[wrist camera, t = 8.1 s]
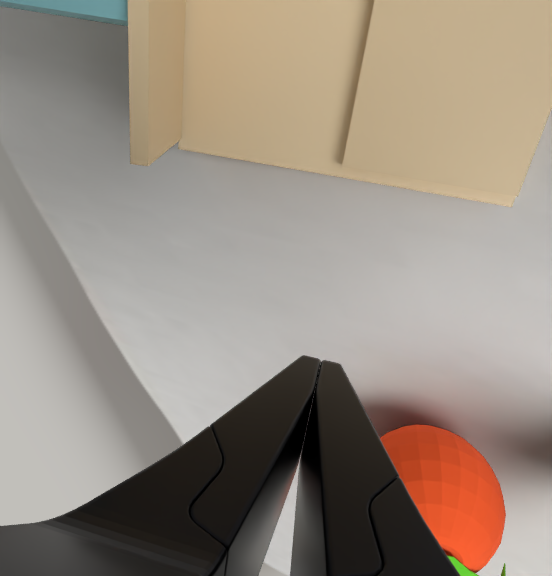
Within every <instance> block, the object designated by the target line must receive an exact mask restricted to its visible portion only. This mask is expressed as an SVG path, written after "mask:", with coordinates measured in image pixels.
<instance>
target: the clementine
mask: <svg viewBox="0 0 552 576" xmlns="http://www.w3.org/2000/svg"><path fill="white" fill-rule="evenodd" d="M380 439H381V441H382V443H383V445H384V447H385V449H386V451H387V453H388V455H389V457H390V458H391V460H392V462H393V464H394V466H395V468H396V470H397V472H398V474H399V476H400V477H399V478H401V479H402V481H403V483H404V485H405V487H406V488H407V490H408V492H409V494H410V496H411V498H412V499H413V501H414V503H415V505H416V506H417V508H418V510H419V512H420V514H421V515H422V517H423V519H424V521H425V522H426V524H427V525H428V527H429V528H430V530H431V532H432V533H433V535H434V536H435V538H436V539H437V541H438V542H439V544H440V546H441V547H442V549H443V550H444V552H445V553H446V555H447V556H448V558H449V559H450V561H451V562H452V564H453V565H454V567H455V568H456V570H457V571H458V573H459V574H460V576H479V575H477V574H475V573H477V572H478V571H479V570H481V569H482V568H483V567H484V566H485V565H486V564H487V563H488V562H489V560H490V559H491V558H492V556H493V555H494V554H495V552H496V550H497V548H498V547H499V545H500V543H501V539H502V534H503V530H504V523H505V516H506V513H505V506H504V500H503V495H502V491H501V488H500V484H499V482H498V480H497V478H496V476H495V474H494V472H493V470H492V468H491V467H490V465H489V464H488V462H487V461H486V460H485V458H484V457H483V456H482V455H481V454H480V453H479V452H478V451H477V450H476V449H475V448H474V447H473V446H472V445H471V444H469V443H468V442H467V441H466V440H465V439H463V438H462V437H460V436H458V435H456V434H454V433H452V432H450V431H448V430H445V429H442V428H438V427H434V426H430V425H417V424H416V425H409V426H403V427H401V428H398V429H395V430H393V431H390V432H388V433H386V434H385V435H383V436H382V437H381V438H380ZM501 576H505V563H504V567H503V570H502V574H501Z"/></svg>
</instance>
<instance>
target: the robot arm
mask: <svg viewBox="0 0 552 576" xmlns="http://www.w3.org/2000/svg"><path fill="white" fill-rule="evenodd" d="M320 364H321V365H320ZM319 368H320V369H319ZM318 373H319V374H318ZM317 378H318V379H317ZM316 382H317V383H316ZM315 387H316V388H315ZM314 391H315V393H314ZM313 396H314V397H313ZM312 401H313V402H312ZM311 405H312V406H311ZM310 410H311V411H310ZM309 415H310V416H309ZM308 419H309V420H308ZM307 424H308V425H307ZM306 428H307V430H306ZM305 433H306V434H305ZM304 438H305V439H304ZM303 442H304V443H303ZM302 447H303V448H302ZM301 451H302V453H301ZM300 455H301V459H300ZM299 459H300V466H299V475H298V487H297V499H296V511H295V523H294V535H293V547H292V560H291V572H290V576H460V574H459V573H458V571H457V570H456V568H455V567H454V565H453V564H452V562H451V561H450V559H449V558H448V556H447V555H446V553H445V552H444V550H443V549H442V547H441V546H440V544H439V542H438V541H437V539H436V538H435V536H434V535H433V533H432V532H431V530H430V528H429V527H428V525H427V524H426V522H425V521H424V519H423V517H422V515H421V514H420V512H419V510H418V508H417V506H416V505H415V503H414V501H413V499H412V498H411V496H410V494H409V492H408V490H407V488H406V487H405V485H404V483H403V481H402V479H401V478H399V477H400V476H399V474H398V472H397V470H396V468H395V466H394V464H393V462H392V460H391V458H390V457H389V455H388V453H387V451H386V449H385V447H384V445H383V443H382V441H381V439H380V438H379V436H378V434H377V432H376V430H375V428H374V426H373V424H372V422H371V421H370V419H369V417H368V415H367V413H366V411H365V409H364V407H363V405H362V404H361V402H360V400H359V398H358V396H357V394H356V392H355V390H354V388H353V387H352V385H351V383H350V381H349V379H348V377H347V375H346V373H345V371H344V370H343V368H342V366H341V365H340V364H339V363H335V362H331V361H326V360H323V361H322V362H321V361H320V360H319V359H318V358H314V357H309V356H305V355H303V356H301V357H299V358H298V359H297V360H296V361H294V362H293V363H292V364H290V365H289V366H288V367H286V368H285V369H284V370H282V371H281V372H280V373H278V374H277V375H276V376H274V377H273V378H272V379H270V380H269V381H268V382H266V383H265V384H264V385H263V386H261V387H260V388H259V389H257V390H256V391H255V392H253V393H252V394H251V395H249V396H248V397H247V398H245V399H244V400H243V401H241V402H240V403H239V404H237V405H236V406H235V407H233V408H232V409H231V410H229V411H228V412H227V413H226V414H224V415H223V416H222V417H220V418H219V419H218V420H216V421H215V422H214V423H212V424H211V425H210V427H207V428H205V429H204V430H203V431H201V432H200V433H199V434H198V435H196V436H195V437H193V438H192V439H191V440H189V441H188V442H186V443H185V444H184V445H182V446H181V447H179V448H178V449H176V450H175V451H173V452H172V453H170V454H169V455H167V456H165V457H164V458H162V459H161V460H159V461H157V462H156V463H154V464H153V465H151V466H149V467H147V468H146V469H144V470H142V471H141V472H139V473H138V474H135V475H134V476H132V477H131V478H129V479H127V480H125V481H124V482H122V483H120V484H118V485H117V486H115V487H113V488H112V489H110V490H108V491H106V492H105V493H103V494H101V495H100V496H98V497H96V498H94V499H93V500H91V501H89V502H88V503H86V504H84V505H82V506H80V507H78V508H77V509H75V510H73V511H70V512H68V513H66V514H64V515H61V516H58V517H56V518H53V519H50V520H46V521H41V522H37V523H30V524H18V525H8V526H0V576H258V575H259V572H260V569H261V567H262V564H263V561H264V558H265V555H266V553H267V550H268V547H269V544H270V542H271V539H272V536H273V533H274V530H275V528H276V525H277V522H278V519H279V517H280V514H281V511H282V508H283V505H284V503H285V500H286V497H287V494H288V492H289V489H290V486H291V483H292V480H293V478H294V475H295V472H296V469H297V466H298V463H299Z"/></svg>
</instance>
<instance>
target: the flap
mask: <svg viewBox="0 0 552 576" xmlns="http://www.w3.org/2000/svg"><path fill="white" fill-rule="evenodd" d="M0 6H3V7H9V8H15V9H22V10H28V11H35V12H41V13H47V14H54V15H60V16H66V17H73V18H79V19H85V20H92V21H98V22H104V23H111V24H117V25H123V26H128V50H129V111H130V164H135V165H143V166H149V165H150V164H152V163H153V162H154V161H155V160H156V159H158V158H159V157H160V156H161V155H162V154H164V153H165V152H166V151H167V150H168V149H170V148H171V147H172V146H173V145H174V144H176V143H177V142H178V141H179V140H180V139H181V135H182V105H183V75H184V45H185V15H186V0H0Z"/></svg>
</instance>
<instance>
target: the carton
mask: <svg viewBox="0 0 552 576" xmlns="http://www.w3.org/2000/svg"><path fill="white" fill-rule="evenodd" d="M551 109H552V0H186V15H185V45H184V75H183V105H182V135H181V139H180V140H179V144H178V149H181V150H187V151H193V152H198V153H204V154H210V155H216V156H221V157H227V158H233V159H239V160H244V161H250V162H256V163H262V164H267V165H273V166H279V167H284V168H290V169H296V170H302V171H307V172H313V173H319V174H325V175H330V176H336V177H342V178H348V179H353V180H359V181H365V182H370V183H376V184H382V185H388V186H393V187H399V188H405V189H411V190H416V191H422V192H428V193H434V194H439V195H445V196H451V197H456V198H462V199H468V200H474V201H479V202H485V203H491V204H497V205H502V206H508V207H512V205H513V203H514V200H515V197H516V196H517V197H518V195H519V192H520V190H521V187H522V184H523V182H524V179H525V176H526V174H527V171H528V169H529V166H530V163H531V161H532V158H533V156H534V153H535V150H536V148H537V145H538V143H539V140H540V137H541V135H542V132H543V130H544V127H545V124H546V122H547V119H548V116H549V114H550V111H551Z"/></svg>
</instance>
